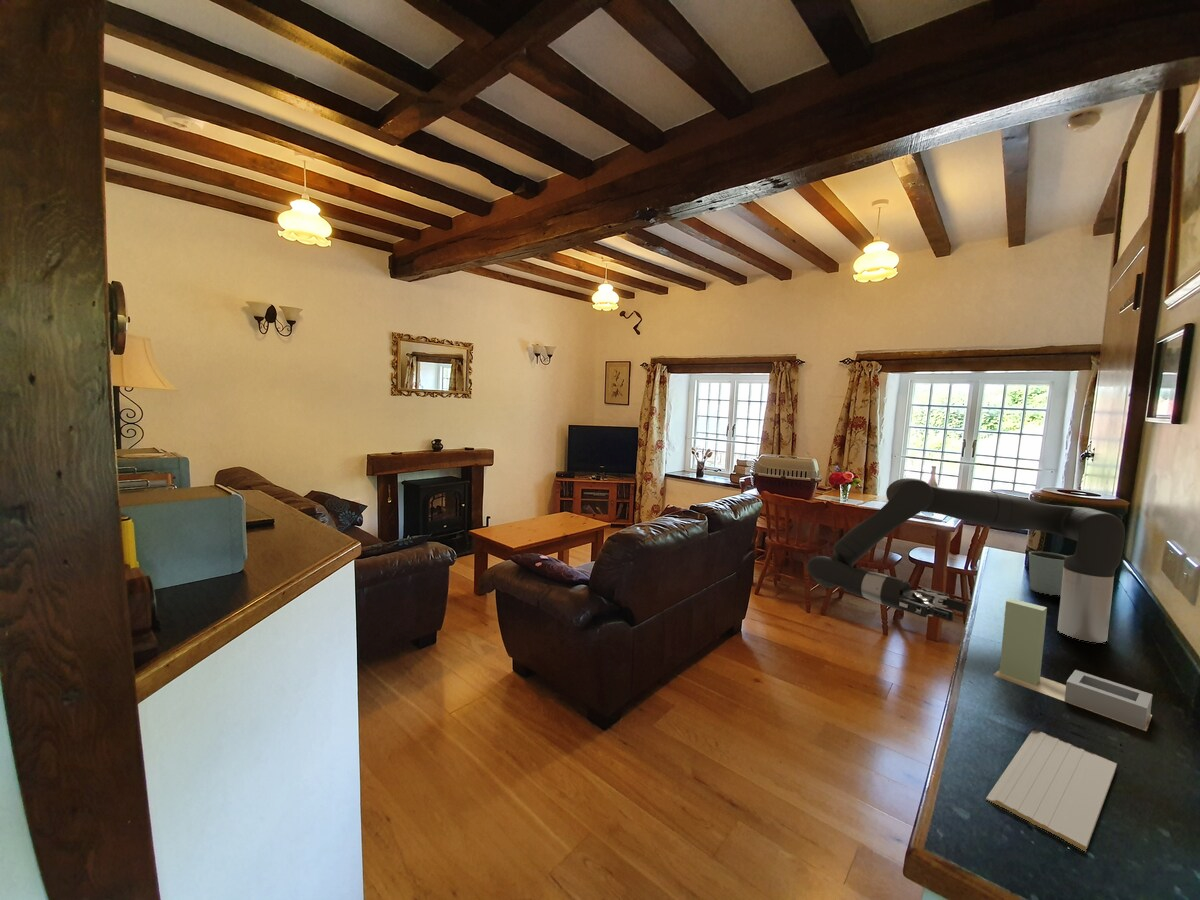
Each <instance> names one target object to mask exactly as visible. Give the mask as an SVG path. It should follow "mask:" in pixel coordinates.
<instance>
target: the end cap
mask: <svg viewBox="0 0 1200 900" xmlns="http://www.w3.org/2000/svg"><path fill="white" fill-rule="evenodd" d="M1065 685H1066V692H1065V701H1067V702H1070V703H1072V704H1071V705H1073V704H1075V705H1074V706H1076V705H1078V706H1081V707H1083V708H1082V709H1084V708H1086V709H1085V710H1087V709H1089V710H1092V711H1094V712H1093V713H1095V712H1097V713H1096V714H1098V713H1100V714H1103V715H1105V716H1104V717H1106V716H1108V717H1107V718H1109V717H1111V718H1114V719H1116V720H1115V721H1117V720H1119V721H1118V722H1120V721H1122V722H1125V723H1127V724H1126V725H1128V724H1130V725H1129V726H1131V725H1133V726H1136V727H1138V728H1137V729H1139V728H1141V729H1140V730H1142V729H1144V730H1145V727H1146V724H1147V722H1148V719H1149V717H1150V714H1151V710H1152V703H1153V696H1154V695H1153V694H1152V693H1149V692H1146V691H1142V690H1140V689H1136V688H1133V687H1131V686H1128V685H1124V684H1121V683H1118V682H1115V681H1112V680H1109V679H1105V678H1102V677H1099V676H1097V675H1093V674H1090V673H1087V672H1084V671H1080V670H1078V669H1075V670H1074V671H1073V672H1072V674H1070V676H1069V677H1068V679H1067V680H1066V684H1065ZM1065 701H1064V702H1065ZM1067 702H1066V703H1067ZM1070 703H1069V704H1070ZM1078 706H1077V707H1078ZM1081 707H1080V708H1081ZM1089 710H1088V711H1089ZM1092 711H1091V712H1092ZM1100 714H1099V715H1100ZM1103 715H1102V716H1103ZM1111 718H1110V719H1111ZM1114 719H1113V720H1114ZM1122 722H1121V723H1122ZM1125 723H1124V724H1125ZM1133 726H1132V727H1133ZM1136 727H1135V728H1136ZM1144 730H1143V731H1144Z"/></svg>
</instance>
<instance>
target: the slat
mask: <svg viewBox="0 0 1200 900" xmlns="http://www.w3.org/2000/svg"><path fill="white" fill-rule="evenodd" d="M1047 611H1048V607H1046V606H1044V605H1038V604H1036V603H1031V602H1027V601H1022V600H1020V599H1019V600H1018V599H1016V598H1012V597H1010V598H1008V599H1007V600H1006V601H1005V611H1004V621H1003V629H1002V630H1003V633H1002V639H1001V640H1002V641H1001V643H1002V644H1001V652H1000V664H999V669H1000V673H1002V674H1005V675H1007V676H1010V677H1013V678H1016V679H1019V680H1021V681H1024V682H1027V683H1030V684H1033V685H1035V686H1036V685H1037V684H1038V683H1039V681H1040V677H1041V672H1042V661H1043V654H1044V651H1043V650H1044V641H1045V634H1046V633H1045V631H1046V623H1047Z"/></svg>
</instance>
